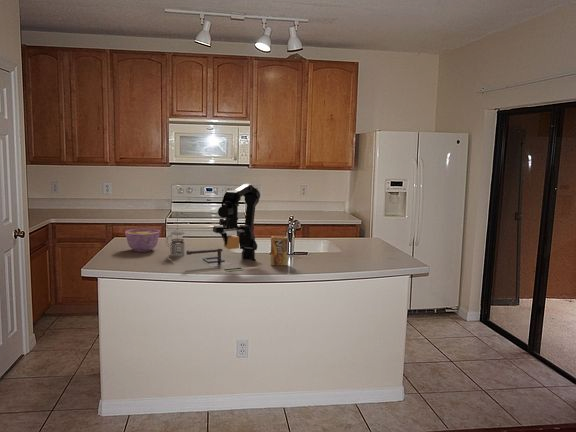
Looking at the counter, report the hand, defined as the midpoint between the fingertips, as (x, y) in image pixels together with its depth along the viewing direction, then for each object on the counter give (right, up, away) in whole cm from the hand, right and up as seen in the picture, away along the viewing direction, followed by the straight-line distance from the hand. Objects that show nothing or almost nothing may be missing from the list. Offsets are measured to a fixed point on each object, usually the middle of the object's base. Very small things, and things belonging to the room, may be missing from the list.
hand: (231, 245), depth 258 cm
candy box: (+24, -12, +13) cm, 30 cm away
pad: (0, -12, +2) cm, 13 cm away
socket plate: (-11, -11, +13) cm, 20 cm away
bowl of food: (-57, -6, +38) cm, 69 cm away
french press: (-35, -8, +26) cm, 44 cm away
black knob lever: (-14, -11, +3) cm, 18 cm away
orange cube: (0, -1, 0) cm, 1 cm away
